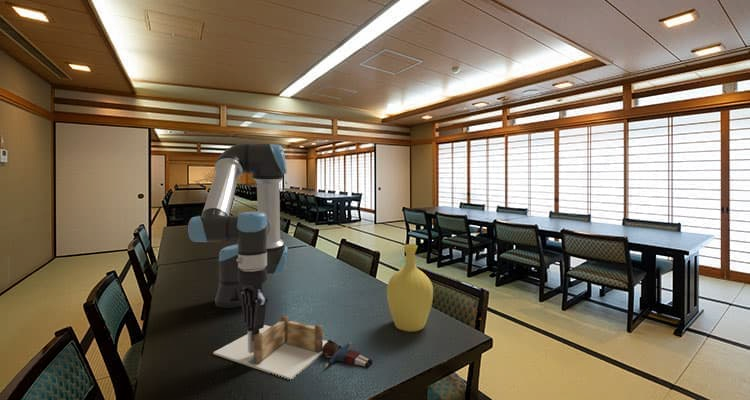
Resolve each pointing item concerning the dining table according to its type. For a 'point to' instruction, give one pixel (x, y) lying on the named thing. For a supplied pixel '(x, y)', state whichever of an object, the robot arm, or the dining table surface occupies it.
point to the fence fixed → (306, 335)
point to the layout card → (271, 357)
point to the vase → (410, 294)
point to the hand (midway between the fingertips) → (253, 350)
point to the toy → (344, 354)
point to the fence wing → (270, 339)
